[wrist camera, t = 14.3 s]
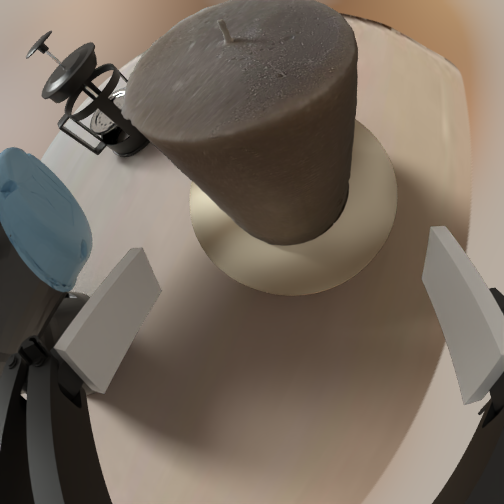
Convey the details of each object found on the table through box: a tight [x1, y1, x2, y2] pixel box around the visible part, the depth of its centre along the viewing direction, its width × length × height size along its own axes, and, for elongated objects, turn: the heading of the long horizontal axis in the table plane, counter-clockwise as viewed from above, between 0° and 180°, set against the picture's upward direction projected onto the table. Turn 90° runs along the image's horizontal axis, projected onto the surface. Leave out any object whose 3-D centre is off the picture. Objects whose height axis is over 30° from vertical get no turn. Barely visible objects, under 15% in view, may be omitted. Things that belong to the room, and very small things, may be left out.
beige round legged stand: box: [189, 119, 398, 296], centre depth 25 cm, size 17×17×8 cm
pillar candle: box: [121, 0, 358, 246], centre depth 14 cm, size 10×10×15 cm
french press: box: [26, 31, 150, 157], centre depth 27 cm, size 12×9×23 cm
